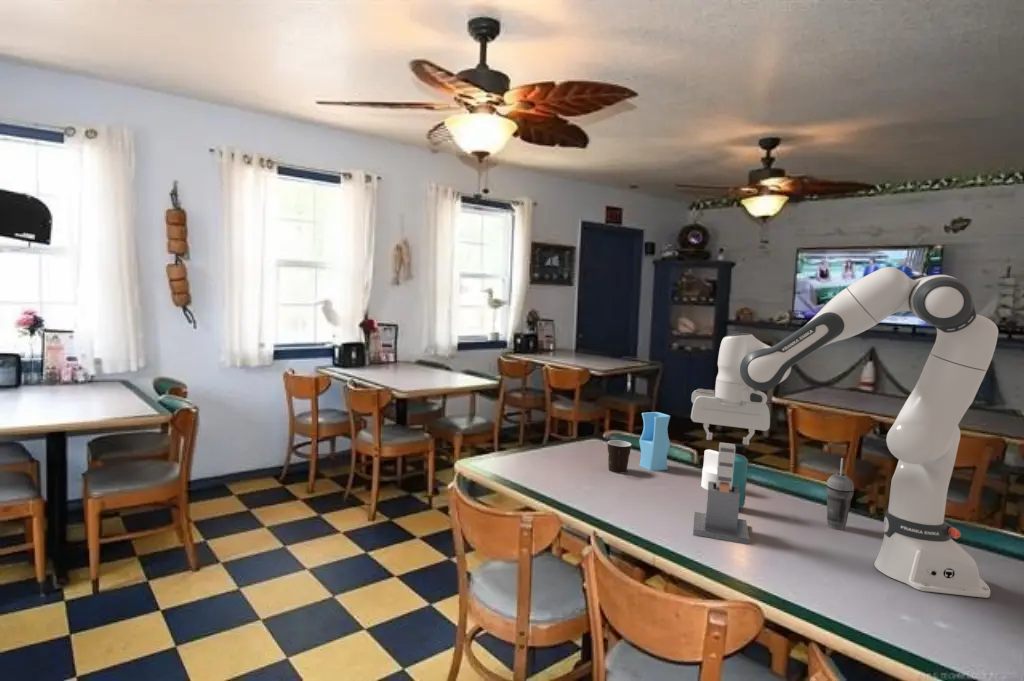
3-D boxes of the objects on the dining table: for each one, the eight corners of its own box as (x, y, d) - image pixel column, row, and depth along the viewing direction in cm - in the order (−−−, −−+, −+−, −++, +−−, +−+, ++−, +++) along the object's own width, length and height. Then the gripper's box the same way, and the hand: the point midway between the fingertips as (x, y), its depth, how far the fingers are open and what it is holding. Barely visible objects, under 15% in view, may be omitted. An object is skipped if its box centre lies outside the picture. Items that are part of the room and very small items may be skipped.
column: (728, 521, 165) (734, 444, 163) (728, 527, 161) (735, 447, 159) (713, 519, 166) (719, 442, 165) (713, 524, 162) (719, 445, 160)
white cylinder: (695, 485, 202) (698, 451, 201) (711, 481, 208) (714, 448, 207) (718, 493, 195) (721, 458, 194) (734, 489, 200) (737, 454, 199)
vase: (637, 465, 223) (641, 412, 221) (653, 463, 227) (657, 411, 225) (651, 471, 216) (655, 417, 214) (668, 469, 220) (672, 416, 218)
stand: (745, 525, 168) (749, 477, 167) (748, 544, 155) (753, 493, 154) (694, 516, 173) (698, 470, 172) (693, 534, 160) (697, 484, 158)
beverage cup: (823, 528, 169) (830, 460, 167) (820, 520, 176) (826, 454, 174) (852, 533, 166) (860, 464, 165) (847, 524, 173) (854, 457, 172)
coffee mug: (612, 465, 221) (613, 439, 220) (633, 470, 216) (635, 443, 215) (597, 472, 211) (599, 444, 211) (619, 477, 206) (621, 449, 206)
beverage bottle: (746, 513, 178) (752, 448, 176) (722, 510, 179) (728, 445, 178) (742, 506, 184) (747, 443, 183) (719, 503, 186) (725, 440, 184)
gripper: (691, 389, 161) (687, 439, 162) (773, 398, 155) (768, 450, 156) (692, 386, 167) (688, 434, 168) (771, 394, 161) (765, 444, 162)
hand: (727, 441), depth 162 cm, fingers open, 8 cm apart
